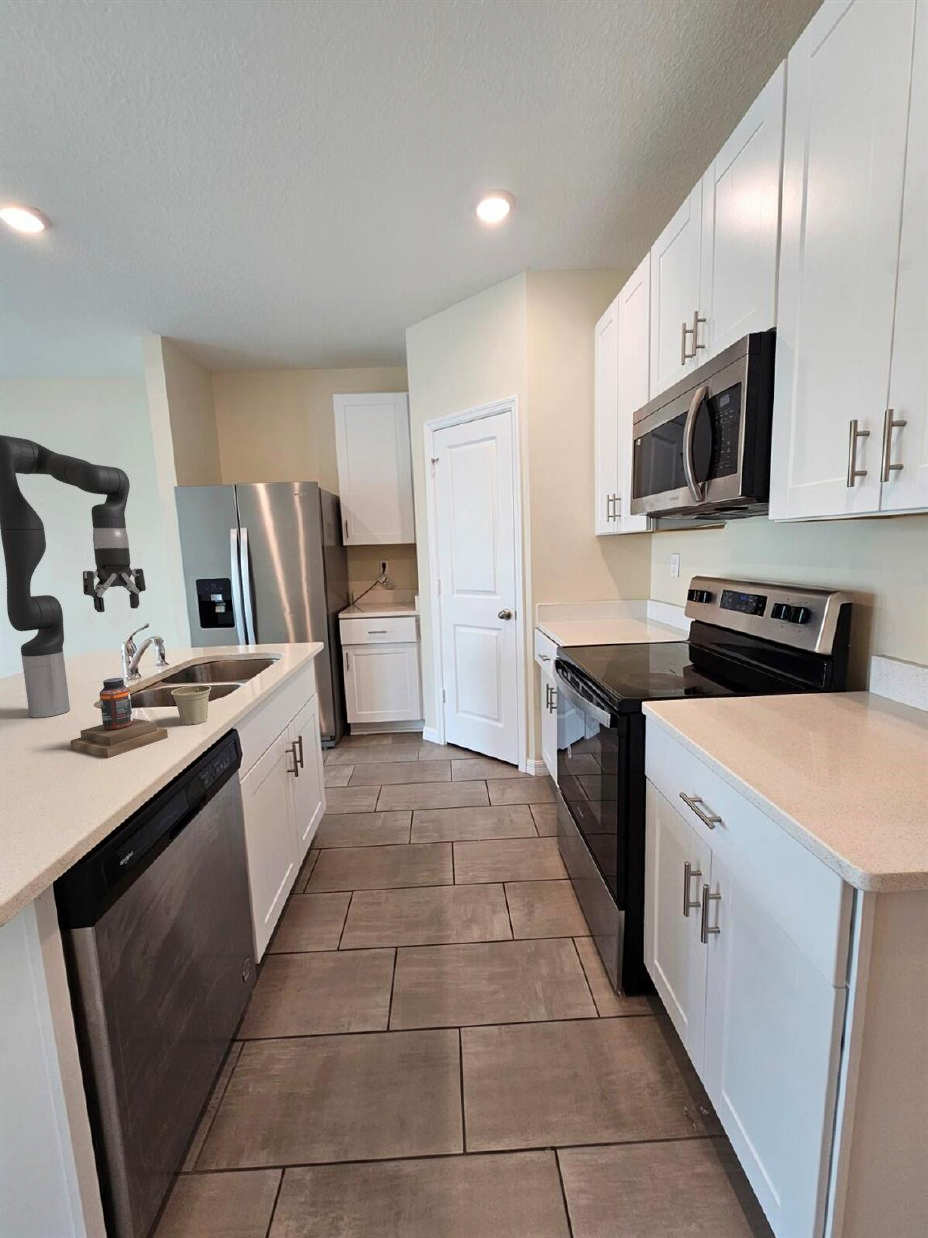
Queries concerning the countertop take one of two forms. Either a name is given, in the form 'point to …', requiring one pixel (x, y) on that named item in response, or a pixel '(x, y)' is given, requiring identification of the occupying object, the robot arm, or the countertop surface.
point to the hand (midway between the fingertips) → (117, 610)
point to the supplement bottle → (115, 704)
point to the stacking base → (119, 746)
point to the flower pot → (192, 703)
